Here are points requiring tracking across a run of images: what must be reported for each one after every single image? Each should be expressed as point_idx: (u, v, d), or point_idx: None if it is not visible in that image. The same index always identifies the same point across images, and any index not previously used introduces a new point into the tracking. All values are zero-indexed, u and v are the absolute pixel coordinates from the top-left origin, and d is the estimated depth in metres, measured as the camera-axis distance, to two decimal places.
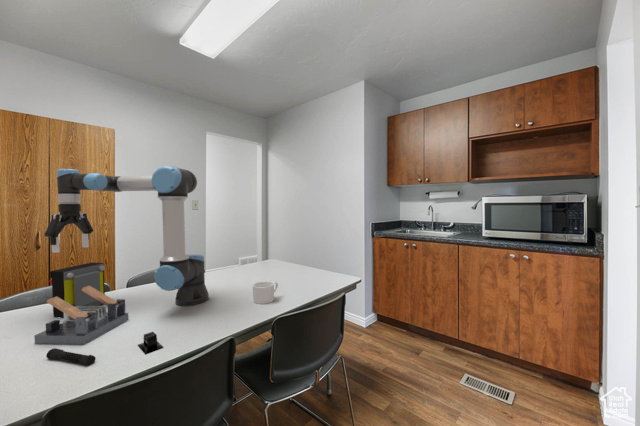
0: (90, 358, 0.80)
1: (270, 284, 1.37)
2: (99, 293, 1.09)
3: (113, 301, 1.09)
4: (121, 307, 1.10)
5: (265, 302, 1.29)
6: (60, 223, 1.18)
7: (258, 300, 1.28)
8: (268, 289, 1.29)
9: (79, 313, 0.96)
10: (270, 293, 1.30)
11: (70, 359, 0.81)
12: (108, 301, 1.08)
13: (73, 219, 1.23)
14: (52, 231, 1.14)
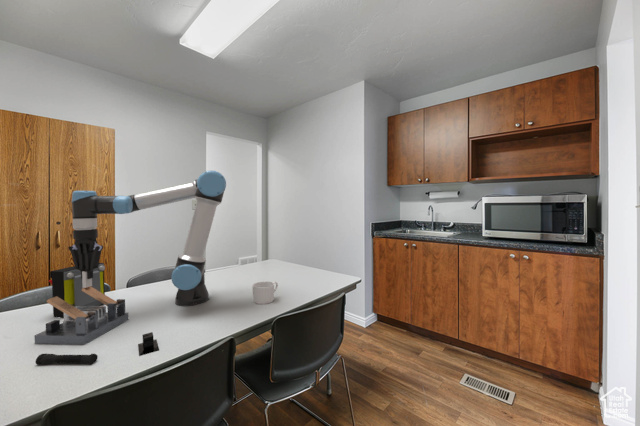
0: (93, 356, 0.81)
1: (270, 284, 1.37)
2: (99, 293, 1.09)
3: (113, 301, 1.09)
4: (121, 307, 1.10)
5: (265, 302, 1.29)
6: None
7: (258, 300, 1.28)
8: (268, 289, 1.29)
9: (79, 313, 0.96)
10: (270, 293, 1.30)
11: (68, 360, 0.80)
12: (108, 301, 1.08)
13: None
14: (75, 264, 1.08)
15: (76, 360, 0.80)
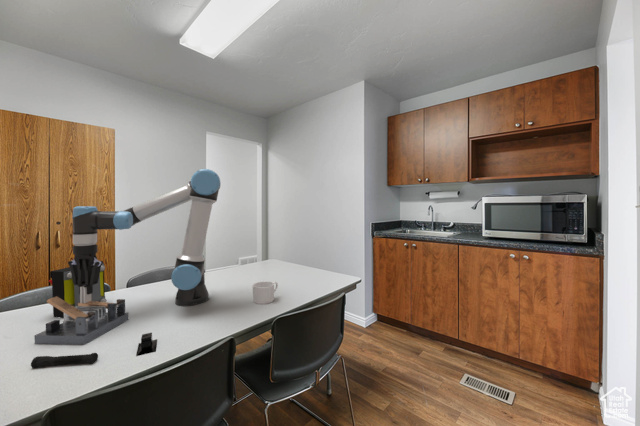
0: (94, 355, 0.82)
1: (270, 284, 1.37)
2: (96, 302, 1.09)
3: None
4: (121, 307, 1.10)
5: (265, 302, 1.29)
6: None
7: (258, 300, 1.28)
8: (268, 289, 1.29)
9: (79, 313, 0.96)
10: (270, 293, 1.30)
11: (68, 361, 0.80)
12: (106, 304, 1.08)
13: None
14: (73, 279, 1.08)
15: (76, 360, 0.80)
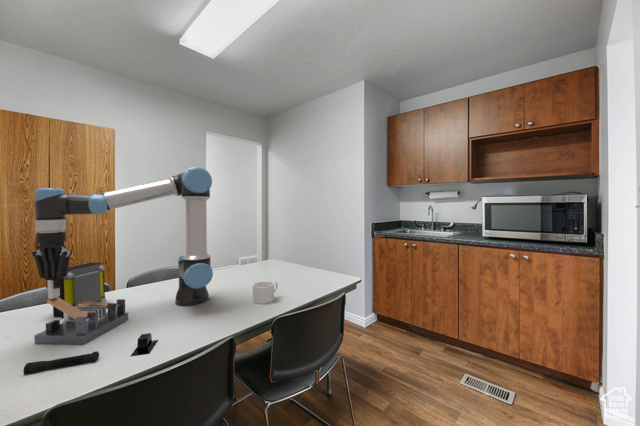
0: (96, 354, 0.83)
1: (270, 284, 1.37)
2: (96, 302, 1.09)
3: None
4: (121, 307, 1.10)
5: (265, 302, 1.29)
6: None
7: (258, 300, 1.28)
8: (268, 289, 1.29)
9: (79, 313, 0.96)
10: (270, 293, 1.30)
11: (67, 362, 0.79)
12: (106, 305, 1.08)
13: None
14: (40, 272, 0.95)
15: (77, 360, 0.80)
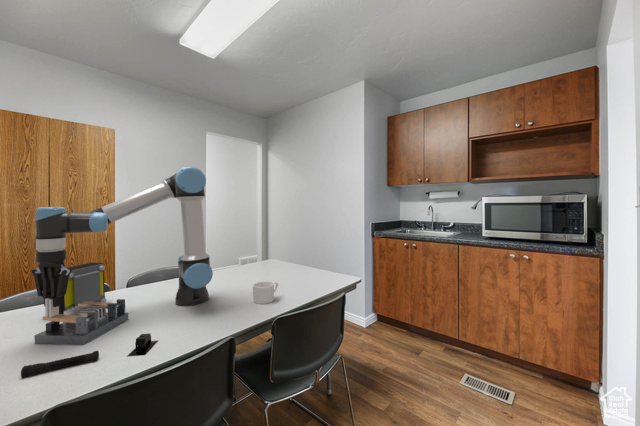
0: (97, 353, 0.83)
1: (270, 284, 1.37)
2: (96, 302, 1.09)
3: None
4: (121, 307, 1.10)
5: (265, 302, 1.29)
6: None
7: (258, 300, 1.28)
8: (268, 289, 1.29)
9: None
10: (270, 293, 1.30)
11: (68, 363, 0.79)
12: (106, 305, 1.08)
13: None
14: (38, 290, 0.95)
15: (78, 360, 0.80)
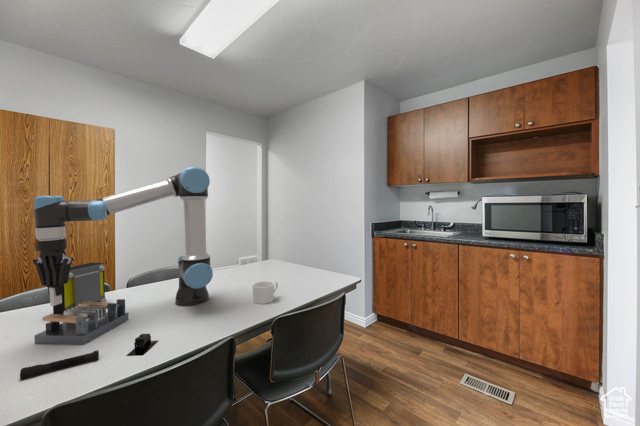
0: (97, 353, 0.83)
1: (270, 284, 1.37)
2: (96, 302, 1.09)
3: None
4: (121, 307, 1.10)
5: (265, 302, 1.29)
6: None
7: (258, 300, 1.28)
8: (268, 289, 1.29)
9: None
10: (270, 293, 1.30)
11: (68, 363, 0.79)
12: (106, 305, 1.08)
13: None
14: (41, 279, 0.95)
15: (78, 360, 0.80)
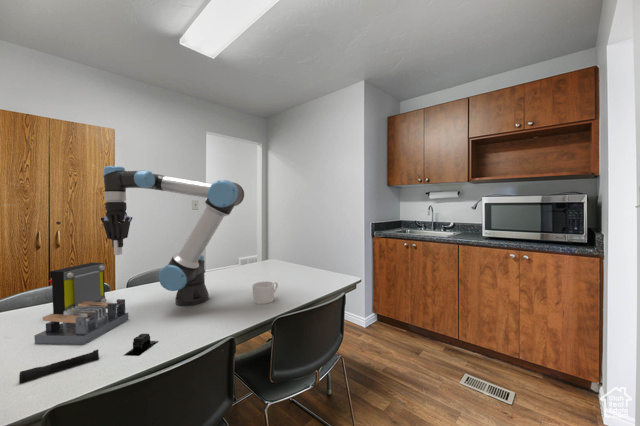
0: None
1: (270, 284, 1.37)
2: (96, 302, 1.09)
3: None
4: (121, 307, 1.10)
5: (265, 302, 1.29)
6: None
7: (258, 300, 1.28)
8: (268, 289, 1.29)
9: None
10: (270, 293, 1.30)
11: (69, 364, 0.79)
12: (106, 305, 1.08)
13: None
14: (107, 234, 1.18)
15: (79, 360, 0.80)
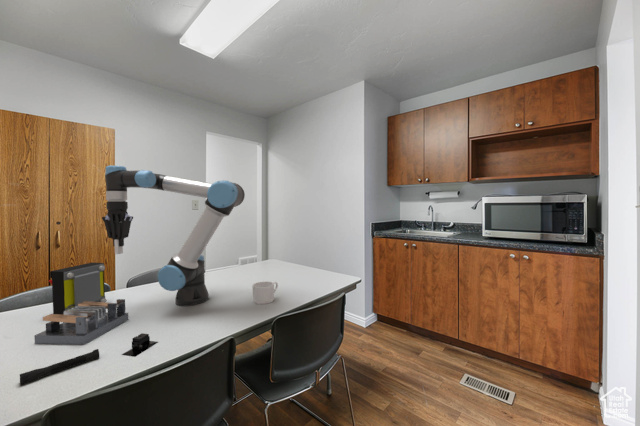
0: None
1: (270, 284, 1.37)
2: (96, 302, 1.09)
3: None
4: (121, 307, 1.10)
5: (265, 302, 1.29)
6: None
7: (258, 300, 1.28)
8: (268, 289, 1.29)
9: None
10: (270, 293, 1.30)
11: (70, 364, 0.79)
12: (106, 305, 1.08)
13: None
14: (108, 233, 1.19)
15: (80, 360, 0.80)
